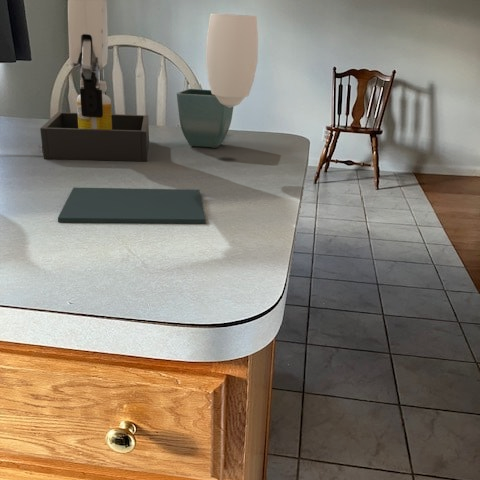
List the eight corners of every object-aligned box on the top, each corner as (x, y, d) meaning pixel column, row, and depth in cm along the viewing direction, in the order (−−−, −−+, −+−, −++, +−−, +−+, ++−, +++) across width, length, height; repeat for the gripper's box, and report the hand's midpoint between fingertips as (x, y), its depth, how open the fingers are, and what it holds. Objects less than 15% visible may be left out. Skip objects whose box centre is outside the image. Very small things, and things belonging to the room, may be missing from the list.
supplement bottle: (77, 146, 87) (73, 81, 83) (80, 139, 92) (76, 78, 87) (112, 147, 88) (109, 83, 84) (113, 141, 93) (110, 80, 88)
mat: (58, 222, 58) (57, 217, 58) (73, 191, 69) (73, 187, 69) (205, 223, 61) (205, 219, 60) (199, 193, 71) (199, 189, 71)
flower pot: (187, 138, 103) (188, 87, 98) (233, 142, 102) (236, 91, 97) (175, 147, 95) (175, 92, 91) (225, 152, 94) (227, 96, 90)
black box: (43, 158, 83) (40, 128, 81) (60, 138, 96) (57, 112, 94) (147, 161, 85) (146, 131, 83) (149, 141, 98) (148, 115, 96)
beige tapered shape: (214, 177, 79) (219, 13, 69) (196, 165, 84) (198, 12, 74) (258, 174, 82) (269, 16, 72) (238, 163, 87) (245, 15, 77)
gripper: (69, -17, 86) (77, 105, 95) (50, -24, 71) (62, 121, 80) (118, -12, 87) (121, 107, 96) (109, -19, 72) (114, 124, 81)
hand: (94, 112), depth 88 cm, fingers closed on supplement bottle, 5 cm apart
